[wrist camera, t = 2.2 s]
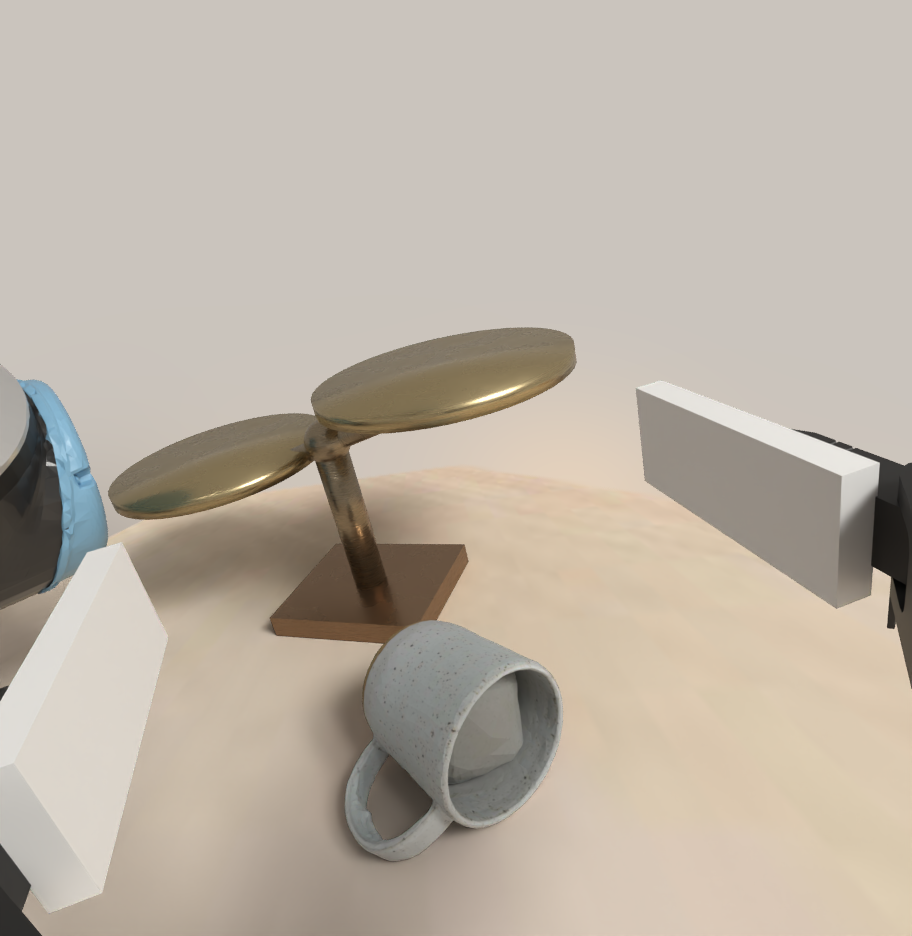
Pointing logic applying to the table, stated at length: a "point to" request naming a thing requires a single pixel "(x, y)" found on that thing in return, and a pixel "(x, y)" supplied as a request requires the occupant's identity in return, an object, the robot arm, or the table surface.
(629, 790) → the table surface
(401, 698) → the ceramic mug
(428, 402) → the balance
